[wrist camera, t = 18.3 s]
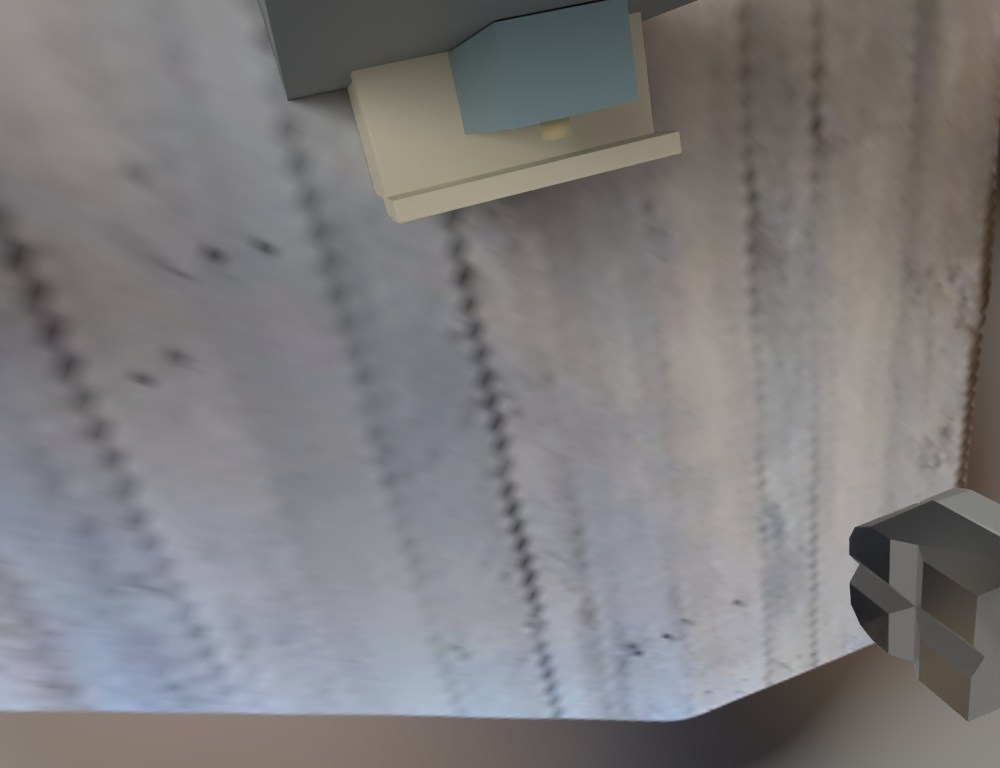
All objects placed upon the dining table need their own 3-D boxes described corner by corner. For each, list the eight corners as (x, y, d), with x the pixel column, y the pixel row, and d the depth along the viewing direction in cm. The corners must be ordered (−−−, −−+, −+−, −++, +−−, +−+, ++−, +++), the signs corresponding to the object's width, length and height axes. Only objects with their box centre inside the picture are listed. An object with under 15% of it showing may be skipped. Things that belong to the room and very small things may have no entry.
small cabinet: (468, 151, 32) (517, 151, 25) (447, 52, 30) (494, 22, 23) (565, 129, 33) (641, 122, 26) (550, 32, 31) (626, -4, 24)
